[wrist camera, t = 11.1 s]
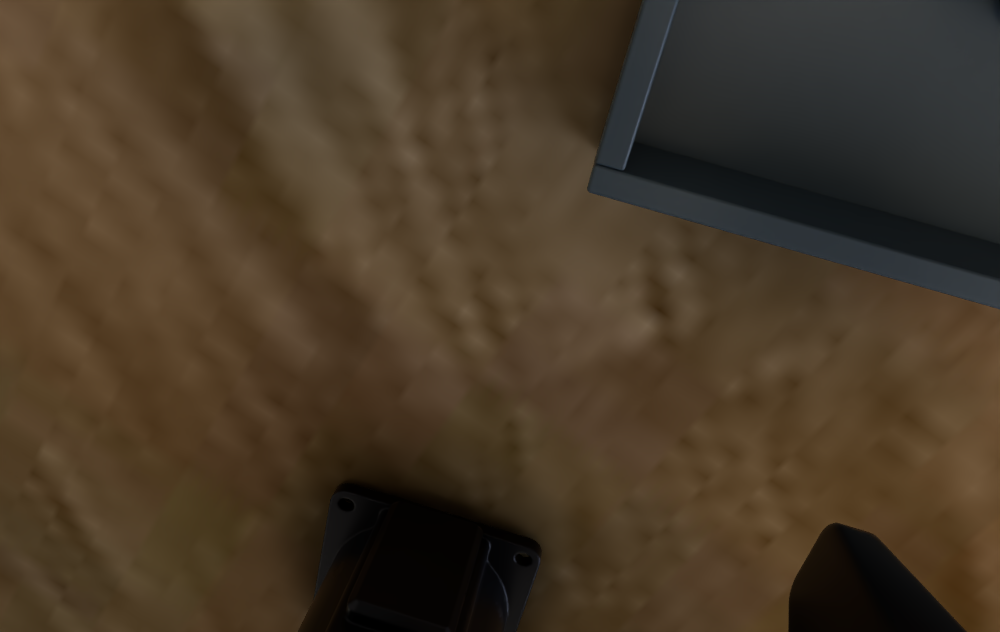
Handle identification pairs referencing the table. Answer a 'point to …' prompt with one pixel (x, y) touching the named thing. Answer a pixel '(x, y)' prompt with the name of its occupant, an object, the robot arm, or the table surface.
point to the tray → (820, 130)
